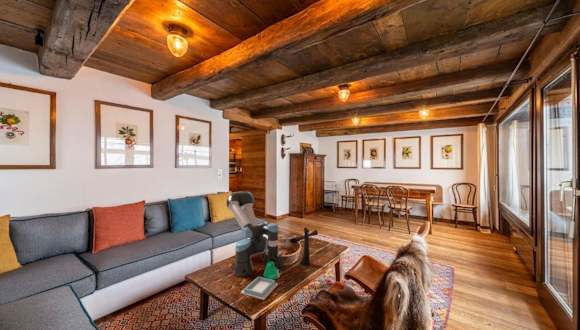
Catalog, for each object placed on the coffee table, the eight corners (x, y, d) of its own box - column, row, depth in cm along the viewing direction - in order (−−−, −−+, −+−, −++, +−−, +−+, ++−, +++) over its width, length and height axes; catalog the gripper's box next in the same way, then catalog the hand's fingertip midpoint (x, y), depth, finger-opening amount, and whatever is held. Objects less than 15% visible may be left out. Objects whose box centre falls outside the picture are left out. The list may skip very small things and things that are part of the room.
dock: (240, 293, 144) (240, 288, 144) (256, 279, 161) (256, 275, 161) (263, 300, 138) (263, 295, 137) (277, 284, 154) (277, 280, 154)
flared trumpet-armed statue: (295, 272, 171) (295, 233, 171) (286, 268, 178) (286, 230, 177) (320, 259, 193) (320, 224, 193) (312, 256, 200) (312, 222, 200)
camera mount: (271, 281, 159) (271, 266, 159) (263, 277, 164) (263, 263, 163) (282, 274, 168) (282, 260, 168) (274, 271, 173) (274, 258, 173)
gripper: (257, 244, 166) (257, 275, 167) (283, 249, 158) (283, 281, 158) (262, 241, 173) (263, 270, 174) (288, 245, 164) (288, 276, 165)
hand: (273, 275), depth 166 cm, fingers closed on camera mount, 9 cm apart
